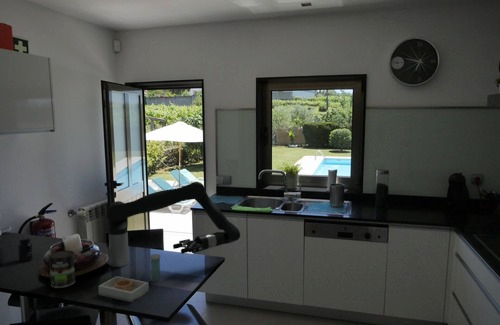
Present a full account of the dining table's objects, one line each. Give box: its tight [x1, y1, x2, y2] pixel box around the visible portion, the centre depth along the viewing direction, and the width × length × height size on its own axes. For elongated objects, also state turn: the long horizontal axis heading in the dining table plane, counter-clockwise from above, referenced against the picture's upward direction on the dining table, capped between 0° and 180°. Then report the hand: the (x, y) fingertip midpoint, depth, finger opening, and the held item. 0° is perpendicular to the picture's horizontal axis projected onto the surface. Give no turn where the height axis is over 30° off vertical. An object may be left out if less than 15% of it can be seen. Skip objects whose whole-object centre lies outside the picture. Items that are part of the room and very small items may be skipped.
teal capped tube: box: [149, 253, 161, 283], centre depth 170 cm, size 5×5×12 cm
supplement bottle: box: [17, 237, 34, 263], centre depth 195 cm, size 7×7×12 cm
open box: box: [98, 275, 150, 303], centre depth 158 cm, size 18×11×4 cm, turn 68°
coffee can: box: [48, 250, 76, 289], centre depth 167 cm, size 10×10×14 cm
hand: (177, 249), depth 176 cm, fingers open, 8 cm apart
